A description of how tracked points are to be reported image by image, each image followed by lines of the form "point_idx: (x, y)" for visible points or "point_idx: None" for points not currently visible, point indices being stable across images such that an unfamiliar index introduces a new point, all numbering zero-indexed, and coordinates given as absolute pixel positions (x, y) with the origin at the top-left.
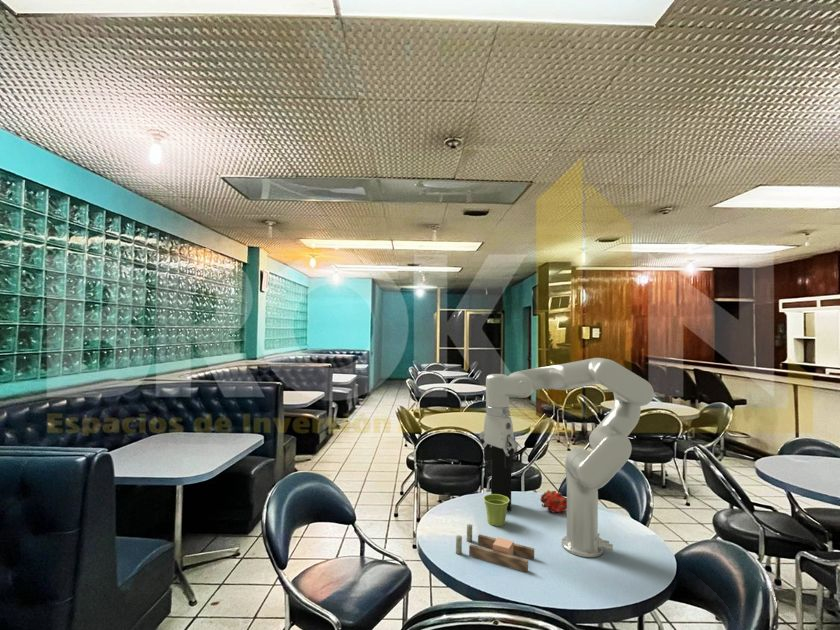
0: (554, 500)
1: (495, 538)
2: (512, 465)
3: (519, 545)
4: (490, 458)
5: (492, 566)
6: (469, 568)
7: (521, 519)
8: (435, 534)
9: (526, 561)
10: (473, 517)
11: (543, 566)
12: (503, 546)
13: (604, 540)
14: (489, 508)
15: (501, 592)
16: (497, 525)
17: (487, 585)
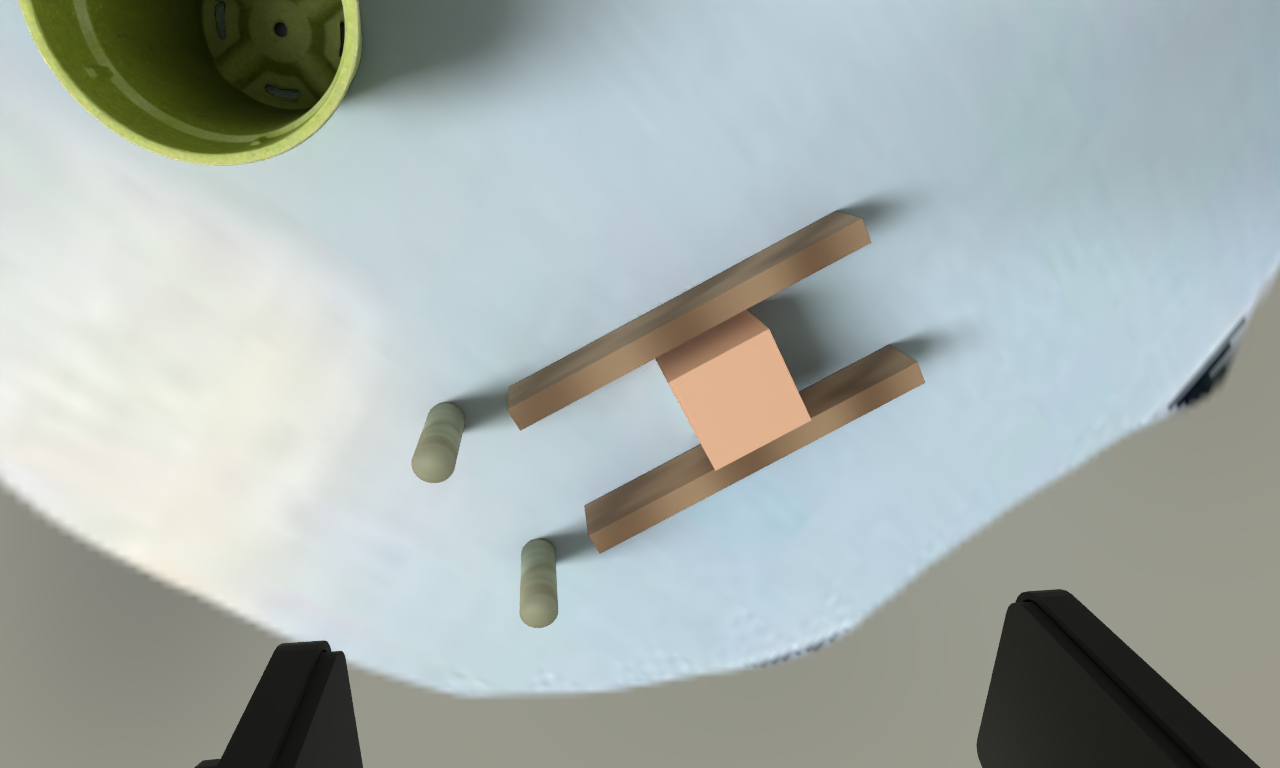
0: None
1: (615, 352)
2: (1073, 613)
3: (776, 276)
4: (346, 709)
5: (746, 478)
6: (690, 585)
7: None
8: (264, 556)
9: (919, 380)
10: (100, 140)
11: (920, 232)
12: (775, 433)
13: None
14: (257, 135)
15: (913, 571)
16: (351, 80)
17: (841, 592)
